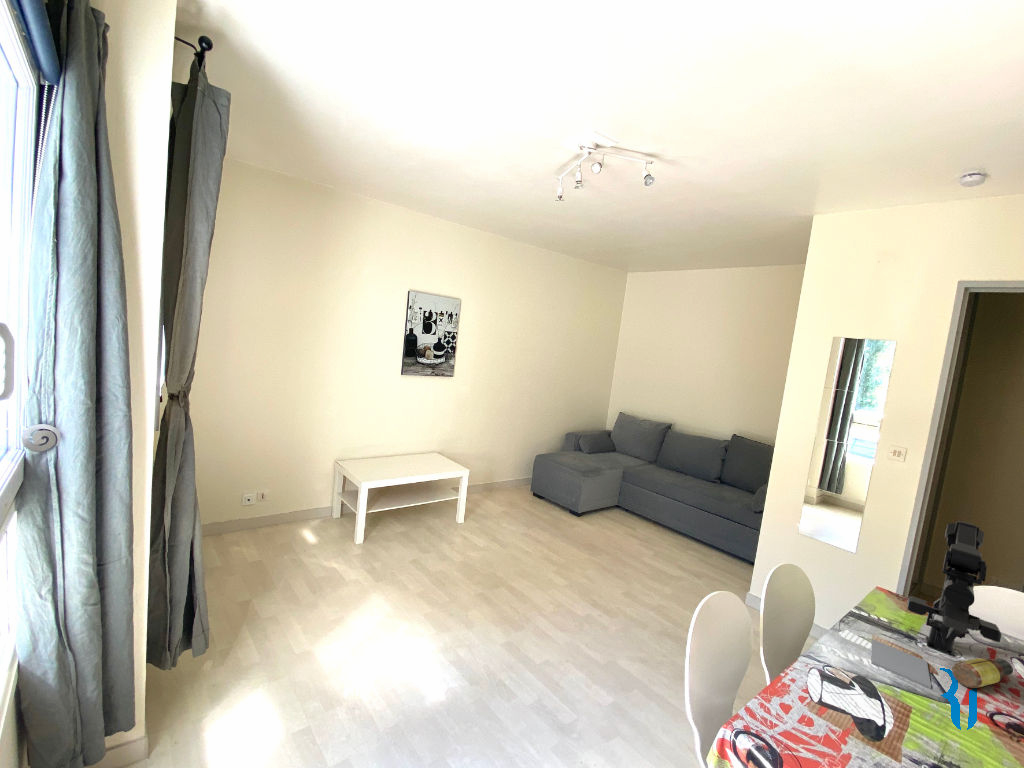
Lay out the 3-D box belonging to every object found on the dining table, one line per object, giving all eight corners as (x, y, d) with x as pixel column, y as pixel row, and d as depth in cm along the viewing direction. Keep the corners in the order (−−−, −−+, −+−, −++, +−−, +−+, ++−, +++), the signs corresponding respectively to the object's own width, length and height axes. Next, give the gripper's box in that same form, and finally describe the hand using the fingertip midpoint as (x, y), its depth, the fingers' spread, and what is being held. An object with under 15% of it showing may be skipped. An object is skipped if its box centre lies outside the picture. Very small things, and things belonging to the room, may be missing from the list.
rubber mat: (872, 640, 144) (872, 639, 144) (926, 662, 136) (926, 661, 136) (871, 663, 133) (871, 661, 133) (930, 688, 125) (931, 686, 125)
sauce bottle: (975, 693, 124) (1020, 686, 130) (979, 671, 124) (1023, 665, 130) (947, 677, 131) (990, 670, 137) (950, 656, 130) (993, 650, 136)
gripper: (914, 589, 127) (903, 641, 128) (1011, 621, 115) (997, 678, 117) (912, 576, 135) (901, 625, 137) (1002, 604, 124) (989, 658, 125)
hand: (945, 645), depth 129 cm, fingers closed
